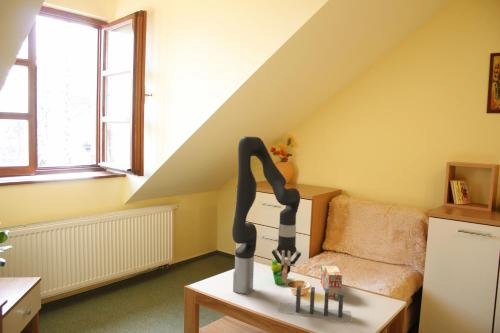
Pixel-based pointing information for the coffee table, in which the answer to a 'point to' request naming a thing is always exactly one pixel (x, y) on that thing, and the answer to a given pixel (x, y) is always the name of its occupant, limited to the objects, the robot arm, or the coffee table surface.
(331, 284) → the multicoloured printed box
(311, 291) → the domino
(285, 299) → the coffee table surface
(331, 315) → the mat
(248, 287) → the robot arm
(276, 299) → the coffee table surface
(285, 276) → the domino
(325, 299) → the domino
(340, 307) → the domino
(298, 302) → the domino
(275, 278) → the fruit basket
